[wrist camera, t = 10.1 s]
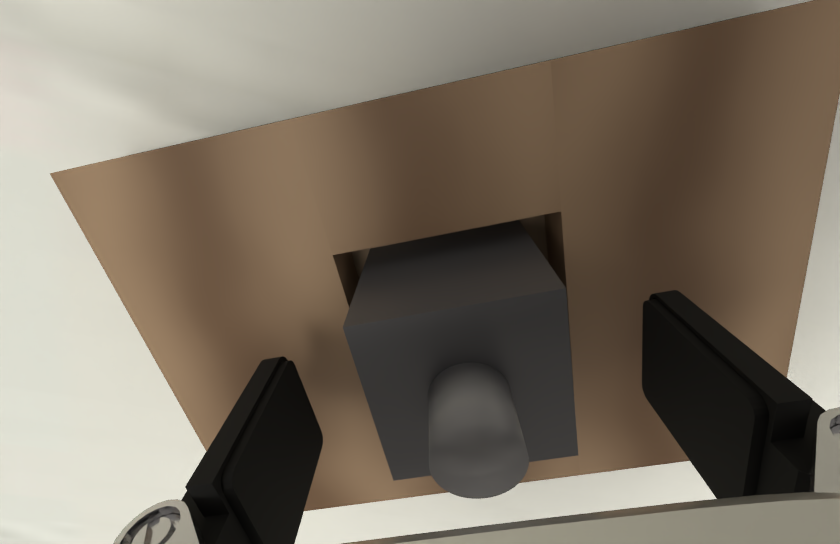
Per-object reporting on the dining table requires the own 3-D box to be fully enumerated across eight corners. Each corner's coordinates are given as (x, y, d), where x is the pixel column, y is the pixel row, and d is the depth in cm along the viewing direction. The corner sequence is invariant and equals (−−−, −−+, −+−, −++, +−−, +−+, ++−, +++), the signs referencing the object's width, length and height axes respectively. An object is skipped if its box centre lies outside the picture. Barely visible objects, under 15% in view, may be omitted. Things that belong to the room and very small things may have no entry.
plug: (518, 219, 13) (601, 339, 7) (533, 346, 15) (608, 529, 9) (370, 248, 14) (322, 385, 8) (403, 367, 16) (386, 556, 10)
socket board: (759, 12, 12) (858, -10, 9) (718, 392, 17) (773, 449, 15) (124, 156, 14) (49, 173, 11) (270, 457, 19) (244, 518, 17)
